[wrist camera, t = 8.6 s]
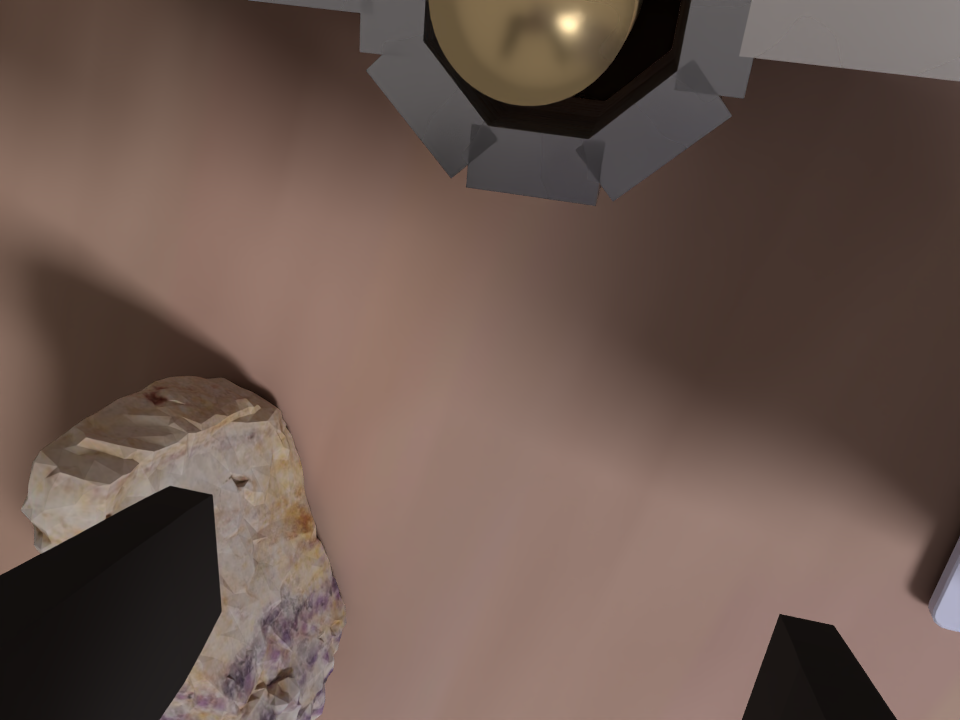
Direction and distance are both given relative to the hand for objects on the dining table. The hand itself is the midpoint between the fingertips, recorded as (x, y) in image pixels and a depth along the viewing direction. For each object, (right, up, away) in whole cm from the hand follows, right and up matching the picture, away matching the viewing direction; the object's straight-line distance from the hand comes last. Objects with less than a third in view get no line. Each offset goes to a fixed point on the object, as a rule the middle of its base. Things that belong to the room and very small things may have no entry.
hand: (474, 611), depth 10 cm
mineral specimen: (-7, -2, +14) cm, 16 cm away
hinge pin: (+2, +10, +5) cm, 12 cm away
